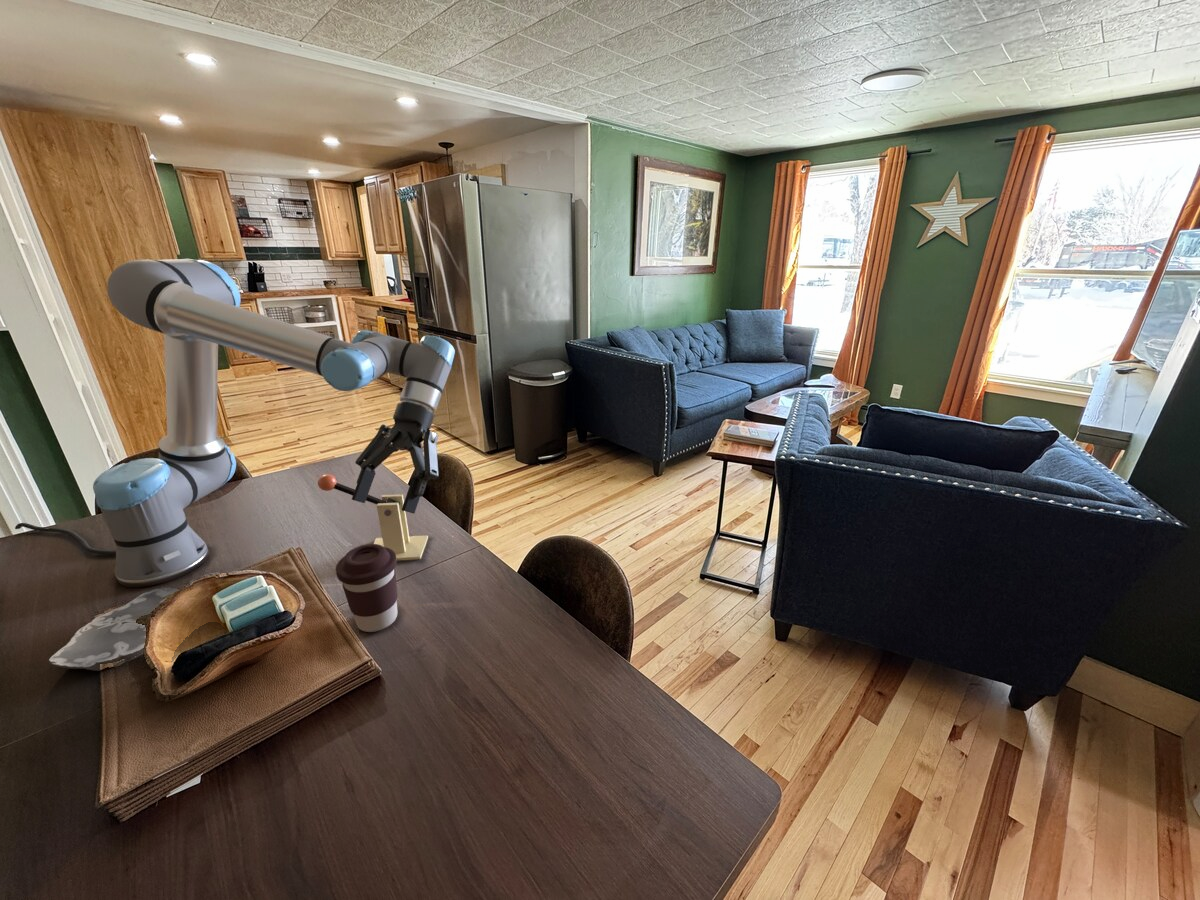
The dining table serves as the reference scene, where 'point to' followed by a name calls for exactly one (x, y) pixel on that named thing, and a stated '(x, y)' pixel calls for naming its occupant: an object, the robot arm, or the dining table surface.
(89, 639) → the grey stone slab
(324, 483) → the lever
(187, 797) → the dining table surface
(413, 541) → the bracket
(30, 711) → the dining table surface
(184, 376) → the robot arm
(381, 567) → the coffee cup
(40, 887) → the dining table surface
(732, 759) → the dining table surface
